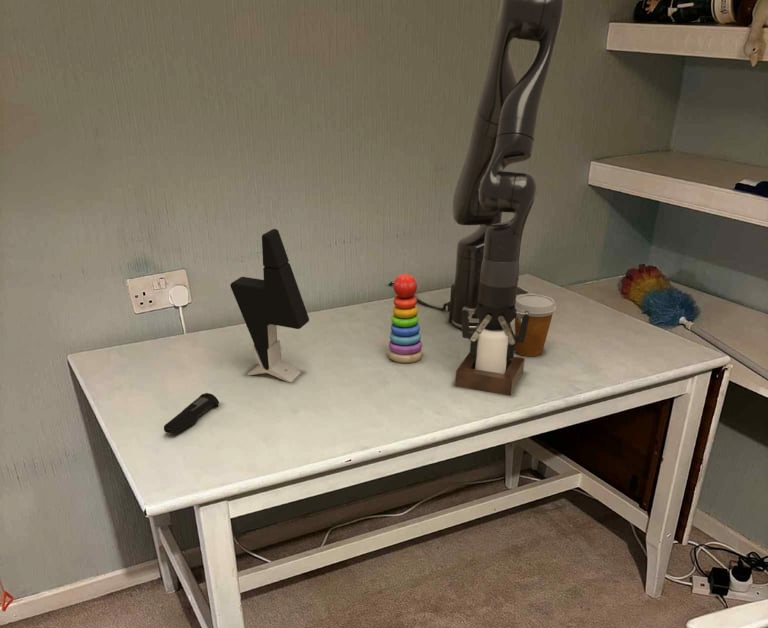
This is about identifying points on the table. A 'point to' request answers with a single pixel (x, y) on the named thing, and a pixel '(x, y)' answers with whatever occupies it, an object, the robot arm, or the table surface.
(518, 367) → the can stand
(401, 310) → the stacking toy
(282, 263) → the award
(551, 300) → the disposable coffee cup
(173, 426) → the electric trimmer
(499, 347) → the can
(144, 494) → the table surface
